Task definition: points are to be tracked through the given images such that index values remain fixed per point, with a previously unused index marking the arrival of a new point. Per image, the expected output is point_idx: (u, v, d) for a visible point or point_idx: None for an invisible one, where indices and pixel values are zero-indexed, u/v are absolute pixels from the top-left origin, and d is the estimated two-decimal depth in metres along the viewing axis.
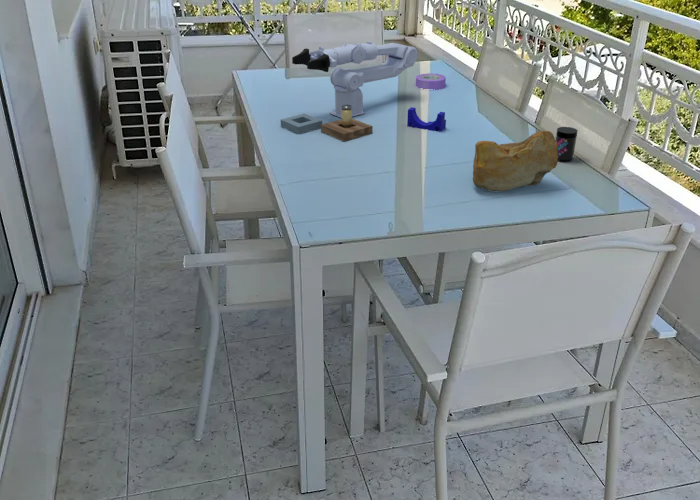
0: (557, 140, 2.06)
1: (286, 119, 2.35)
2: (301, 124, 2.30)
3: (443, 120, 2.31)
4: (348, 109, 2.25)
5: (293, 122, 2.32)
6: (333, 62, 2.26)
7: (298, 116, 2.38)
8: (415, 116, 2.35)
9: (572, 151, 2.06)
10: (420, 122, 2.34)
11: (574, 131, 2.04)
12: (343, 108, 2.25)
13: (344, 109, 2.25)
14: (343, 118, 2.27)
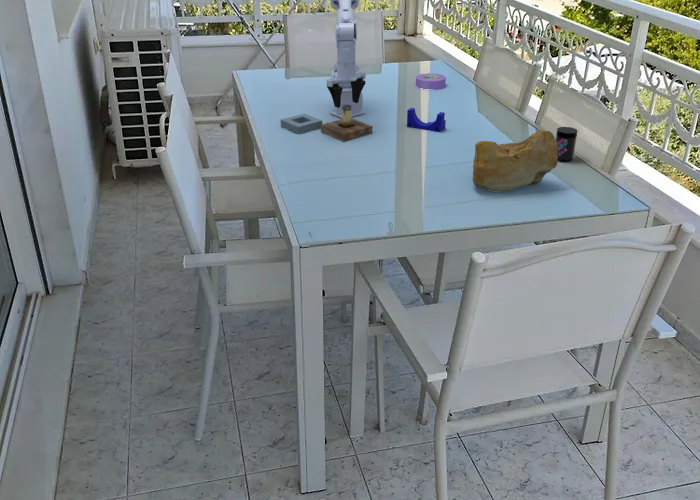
0: (557, 140, 2.06)
1: (286, 119, 2.35)
2: (301, 124, 2.30)
3: (443, 121, 2.31)
4: (348, 109, 2.25)
5: (293, 122, 2.32)
6: None
7: (298, 116, 2.38)
8: (414, 116, 2.34)
9: (572, 151, 2.06)
10: (420, 123, 2.34)
11: (574, 131, 2.04)
12: (343, 108, 2.25)
13: (344, 109, 2.25)
14: (343, 118, 2.27)
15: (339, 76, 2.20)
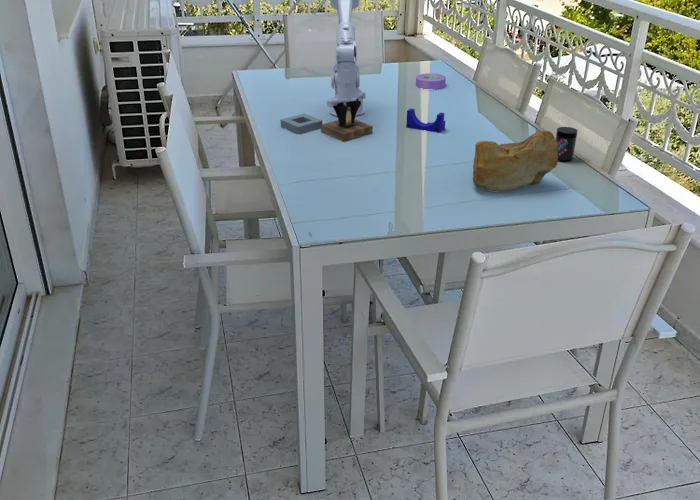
0: (557, 140, 2.06)
1: (286, 119, 2.35)
2: (301, 124, 2.30)
3: (442, 121, 2.30)
4: (348, 109, 2.25)
5: (293, 122, 2.32)
6: None
7: (298, 116, 2.38)
8: (414, 117, 2.33)
9: (572, 151, 2.06)
10: (419, 123, 2.33)
11: (574, 131, 2.04)
12: None
13: None
14: None
15: (339, 96, 2.23)
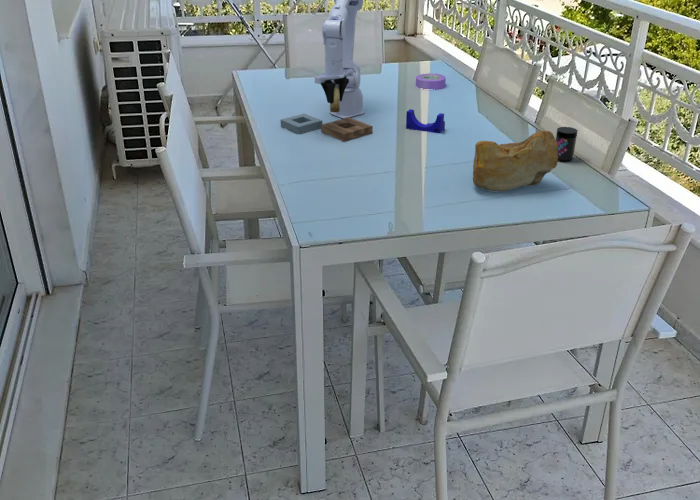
0: (557, 140, 2.06)
1: (286, 119, 2.35)
2: (301, 124, 2.30)
3: (442, 122, 2.30)
4: (336, 86, 2.23)
5: (293, 122, 2.32)
6: None
7: (298, 116, 2.38)
8: (413, 118, 2.33)
9: (572, 151, 2.06)
10: (419, 124, 2.33)
11: (574, 131, 2.04)
12: None
13: None
14: None
15: (327, 73, 2.21)
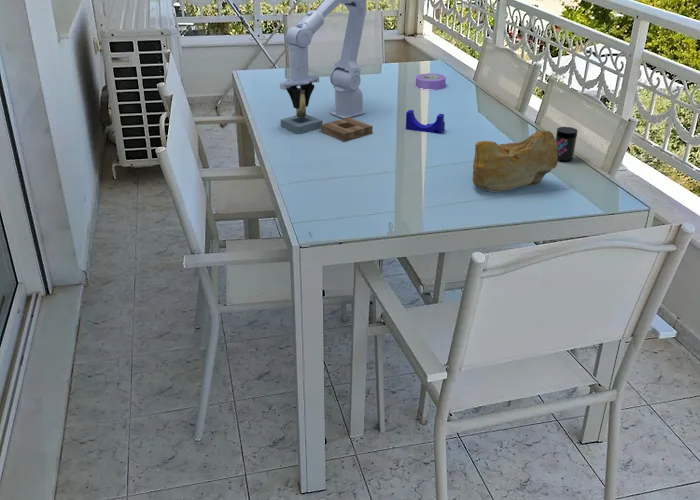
0: (557, 140, 2.06)
1: (286, 119, 2.35)
2: (301, 124, 2.30)
3: (442, 122, 2.29)
4: (302, 92, 2.28)
5: (293, 122, 2.32)
6: None
7: None
8: (413, 118, 2.32)
9: (572, 151, 2.06)
10: (419, 125, 2.32)
11: (574, 131, 2.04)
12: None
13: None
14: None
15: (292, 79, 2.26)
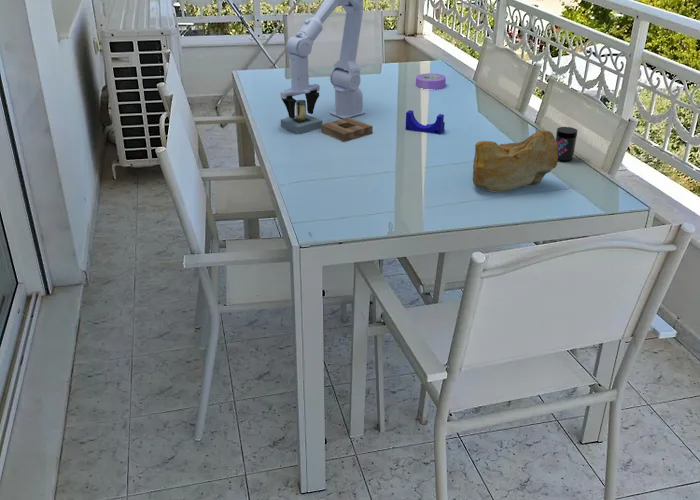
0: (557, 140, 2.06)
1: (286, 119, 2.35)
2: (301, 124, 2.30)
3: (442, 123, 2.29)
4: (302, 104, 2.30)
5: (293, 122, 2.32)
6: None
7: None
8: (413, 119, 2.32)
9: (572, 151, 2.06)
10: (418, 125, 2.32)
11: (574, 131, 2.04)
12: (297, 103, 2.30)
13: (298, 104, 2.30)
14: (298, 113, 2.32)
15: (293, 88, 2.27)
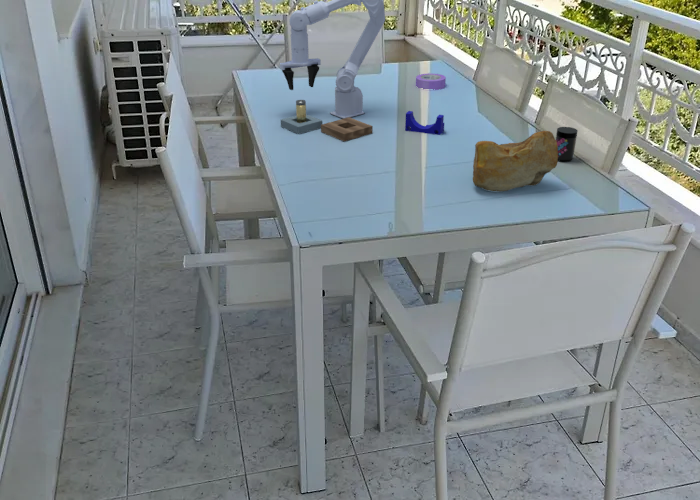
0: (557, 140, 2.06)
1: (286, 119, 2.35)
2: (301, 124, 2.30)
3: (442, 123, 2.28)
4: (302, 104, 2.30)
5: (293, 122, 2.32)
6: None
7: None
8: (413, 119, 2.31)
9: (572, 151, 2.06)
10: (418, 126, 2.31)
11: (574, 131, 2.04)
12: (297, 103, 2.30)
13: (298, 104, 2.30)
14: (298, 113, 2.32)
15: (292, 61, 2.37)
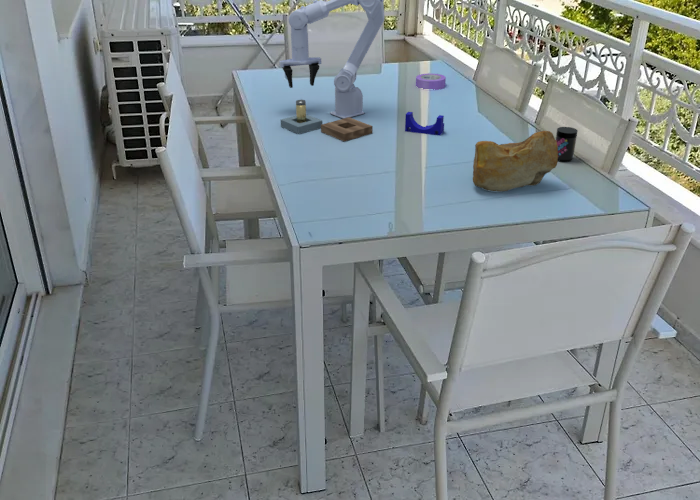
0: (557, 140, 2.06)
1: (286, 119, 2.35)
2: (301, 124, 2.30)
3: (442, 124, 2.28)
4: (302, 104, 2.30)
5: (293, 122, 2.32)
6: None
7: None
8: (412, 120, 2.31)
9: (572, 151, 2.06)
10: (418, 126, 2.31)
11: (574, 131, 2.04)
12: (297, 103, 2.30)
13: (298, 104, 2.30)
14: (298, 113, 2.32)
15: (292, 59, 2.40)
